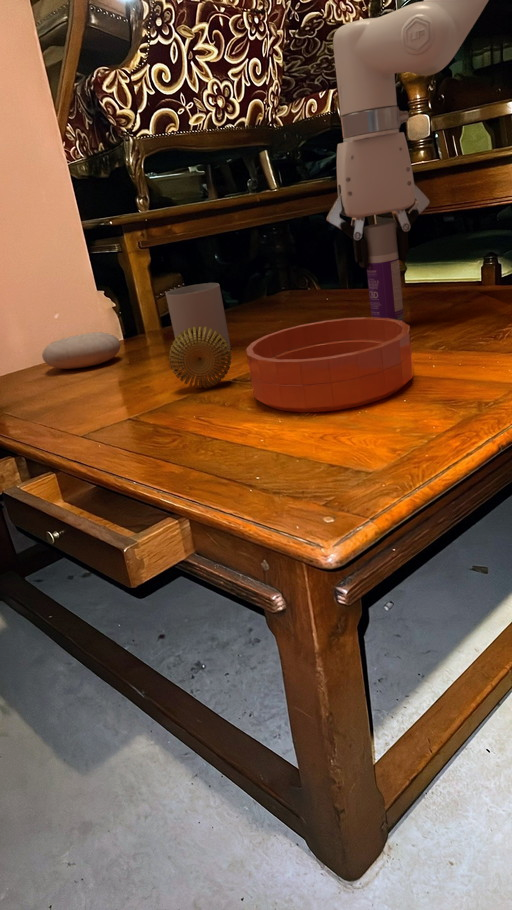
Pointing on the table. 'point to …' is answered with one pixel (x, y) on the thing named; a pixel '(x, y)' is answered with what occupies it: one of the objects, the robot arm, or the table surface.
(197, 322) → the cup
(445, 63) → the robot arm
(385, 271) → the container
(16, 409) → the table surface
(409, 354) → the bowl
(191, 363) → the sculpture
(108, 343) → the decorative stone
